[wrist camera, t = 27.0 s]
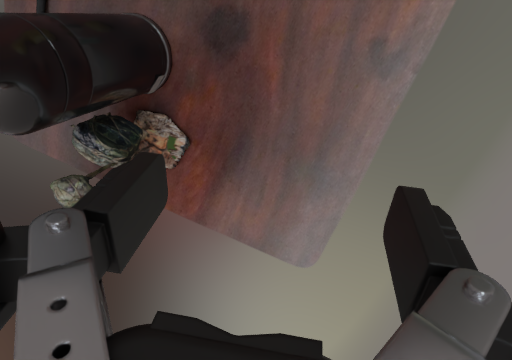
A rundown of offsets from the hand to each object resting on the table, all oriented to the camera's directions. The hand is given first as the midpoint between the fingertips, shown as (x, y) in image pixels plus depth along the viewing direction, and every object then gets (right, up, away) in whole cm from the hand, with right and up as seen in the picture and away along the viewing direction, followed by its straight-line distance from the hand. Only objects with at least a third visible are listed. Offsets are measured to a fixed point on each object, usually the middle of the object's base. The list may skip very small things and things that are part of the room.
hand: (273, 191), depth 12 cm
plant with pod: (-15, +7, +36) cm, 39 cm away
